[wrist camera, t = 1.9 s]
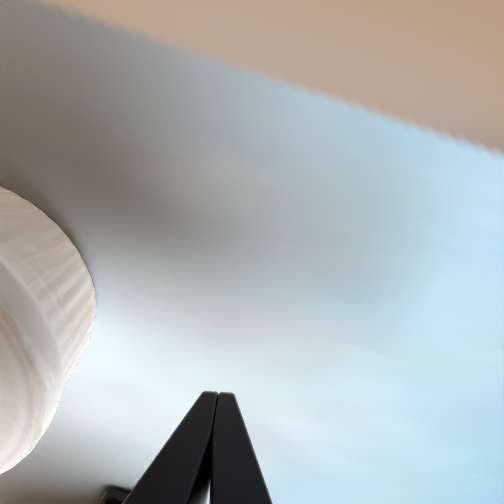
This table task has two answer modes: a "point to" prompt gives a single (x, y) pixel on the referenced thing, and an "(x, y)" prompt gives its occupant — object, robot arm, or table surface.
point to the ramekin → (37, 322)
